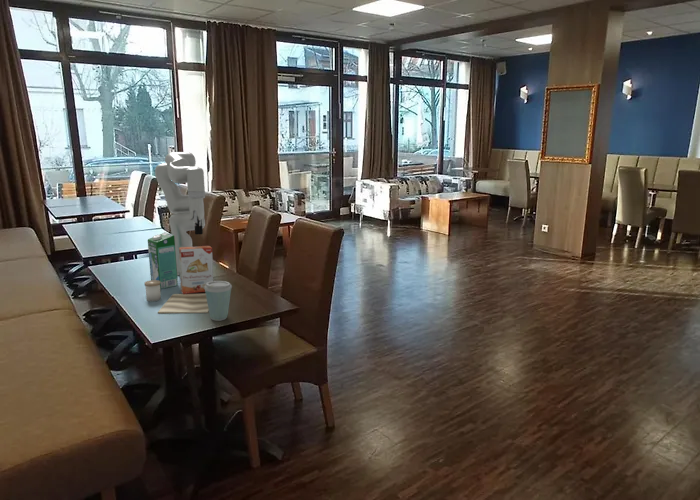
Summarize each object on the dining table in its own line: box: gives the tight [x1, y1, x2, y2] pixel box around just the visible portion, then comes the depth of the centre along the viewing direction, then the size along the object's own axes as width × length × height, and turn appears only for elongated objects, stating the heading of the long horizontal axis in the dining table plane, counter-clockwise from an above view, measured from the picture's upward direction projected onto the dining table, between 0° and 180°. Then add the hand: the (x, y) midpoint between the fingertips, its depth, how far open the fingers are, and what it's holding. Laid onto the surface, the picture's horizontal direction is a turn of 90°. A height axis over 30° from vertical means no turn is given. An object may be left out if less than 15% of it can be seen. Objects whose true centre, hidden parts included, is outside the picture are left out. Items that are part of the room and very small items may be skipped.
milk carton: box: [147, 232, 179, 290], centre depth 234 cm, size 9×9×25 cm
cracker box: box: [179, 245, 214, 294], centre depth 226 cm, size 14×6×21 cm, turn 118°
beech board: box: [157, 293, 209, 314], centre depth 213 cm, size 23×20×1 cm
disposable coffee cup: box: [204, 280, 233, 322], centre depth 195 cm, size 11×11×15 cm
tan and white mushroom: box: [144, 279, 162, 302], centre depth 217 cm, size 7×7×8 cm
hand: (198, 233), depth 230 cm, fingers closed
